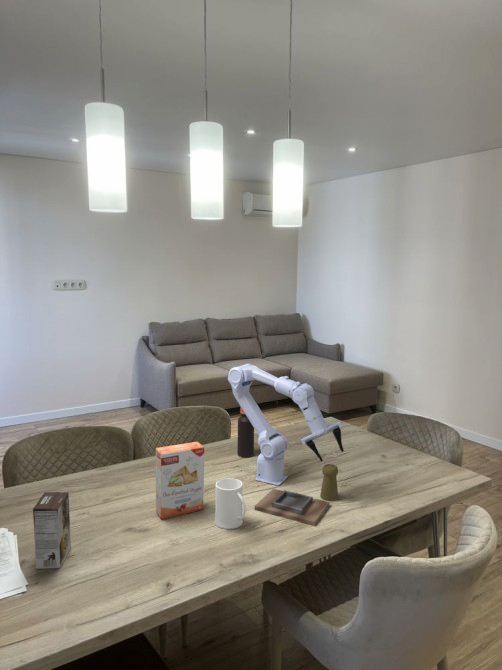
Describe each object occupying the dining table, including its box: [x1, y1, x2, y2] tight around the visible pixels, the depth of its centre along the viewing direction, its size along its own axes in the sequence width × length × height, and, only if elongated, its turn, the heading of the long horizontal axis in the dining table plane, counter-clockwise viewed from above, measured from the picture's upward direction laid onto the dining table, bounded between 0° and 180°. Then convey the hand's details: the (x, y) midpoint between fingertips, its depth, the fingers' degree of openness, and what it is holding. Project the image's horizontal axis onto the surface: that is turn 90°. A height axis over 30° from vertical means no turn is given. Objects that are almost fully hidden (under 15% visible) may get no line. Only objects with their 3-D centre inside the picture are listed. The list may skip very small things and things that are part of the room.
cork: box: [319, 463, 339, 502], centre depth 159 cm, size 6×6×11 cm
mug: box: [214, 477, 247, 530], centre depth 140 cm, size 12×8×12 cm
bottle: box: [237, 406, 255, 458], centre depth 194 cm, size 7×7×20 cm
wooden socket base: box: [254, 488, 330, 527], centre depth 151 cm, size 20×14×3 cm
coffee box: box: [32, 491, 72, 570], centre depth 122 cm, size 9×6×16 cm
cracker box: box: [155, 441, 205, 520], centre depth 147 cm, size 14×6×21 cm, turn 118°
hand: (332, 456), depth 158 cm, fingers open, 7 cm apart
